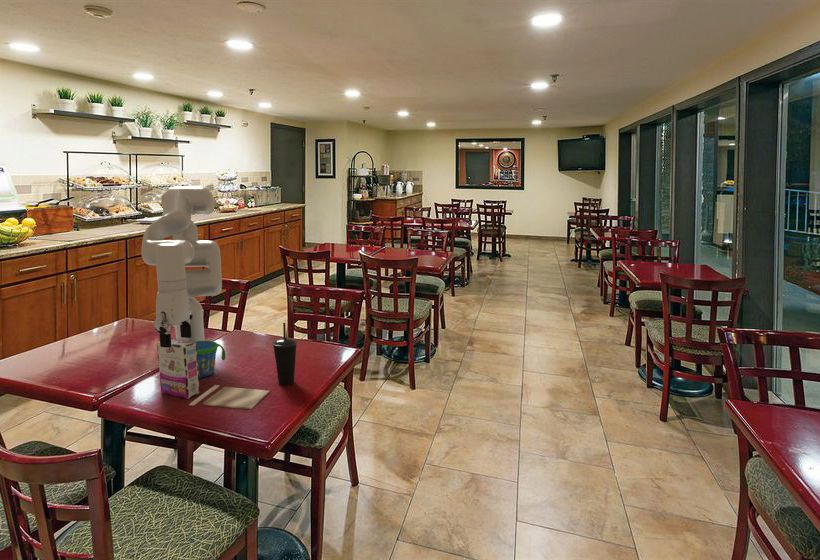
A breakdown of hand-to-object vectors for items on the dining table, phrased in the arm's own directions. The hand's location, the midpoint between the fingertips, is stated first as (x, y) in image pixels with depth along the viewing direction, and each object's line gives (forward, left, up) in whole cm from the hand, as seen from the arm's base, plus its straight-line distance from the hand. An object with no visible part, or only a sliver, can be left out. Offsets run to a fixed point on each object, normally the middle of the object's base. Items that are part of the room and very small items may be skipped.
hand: (176, 342), depth 150 cm
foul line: (+8, +1, -16) cm, 18 cm away
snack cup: (-2, +16, -17) cm, 23 cm away
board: (+18, +1, -16) cm, 25 cm away
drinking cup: (+28, +15, -17) cm, 35 cm away
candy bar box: (0, +1, -17) cm, 17 cm away
